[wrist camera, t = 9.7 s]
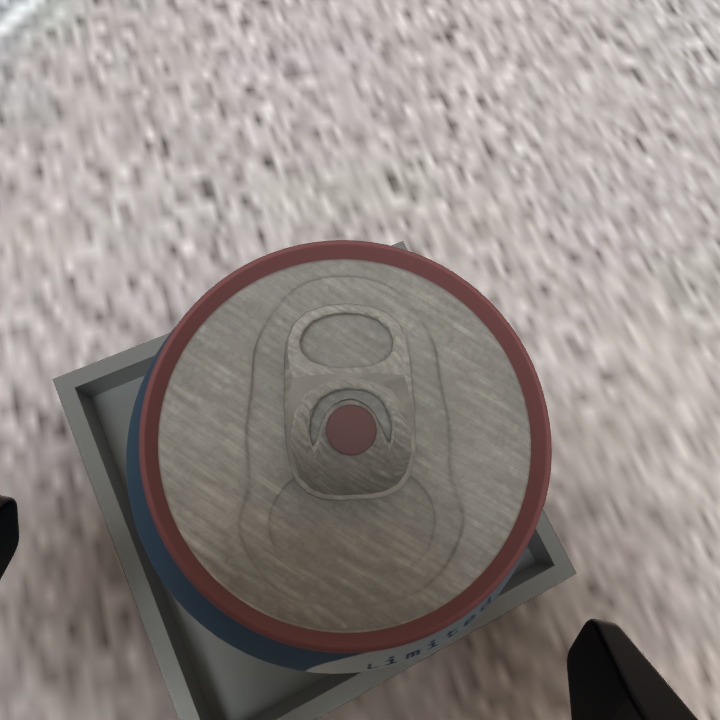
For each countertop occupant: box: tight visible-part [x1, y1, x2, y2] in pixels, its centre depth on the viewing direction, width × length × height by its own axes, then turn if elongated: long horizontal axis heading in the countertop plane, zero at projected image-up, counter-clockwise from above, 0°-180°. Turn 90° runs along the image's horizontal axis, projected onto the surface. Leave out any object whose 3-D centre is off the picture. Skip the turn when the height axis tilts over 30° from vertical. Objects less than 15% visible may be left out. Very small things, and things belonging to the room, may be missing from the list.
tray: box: [53, 241, 576, 720], centre depth 19 cm, size 12×12×2 cm
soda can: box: [126, 240, 552, 674], centre depth 14 cm, size 7×7×12 cm
